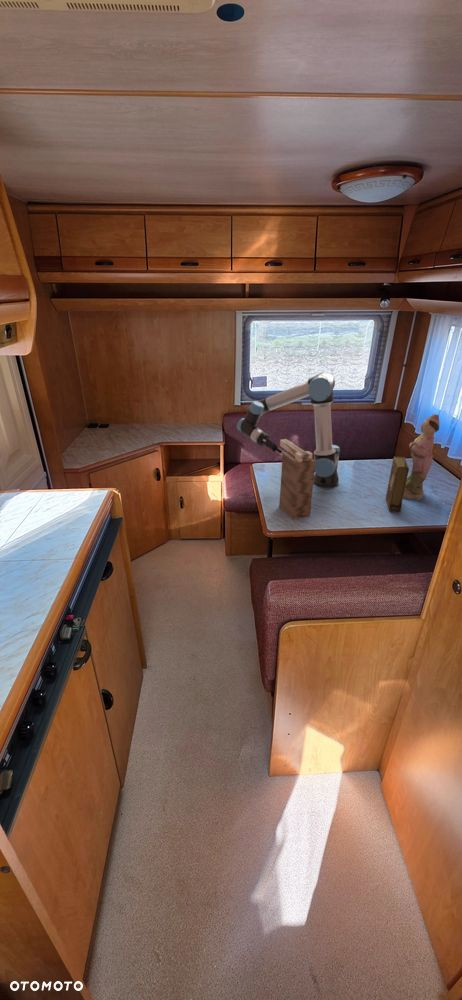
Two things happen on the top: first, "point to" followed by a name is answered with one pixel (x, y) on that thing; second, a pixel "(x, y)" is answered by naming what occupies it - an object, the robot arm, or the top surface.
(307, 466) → the walnut stand
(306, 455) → the birch bar
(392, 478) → the book
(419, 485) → the statue
